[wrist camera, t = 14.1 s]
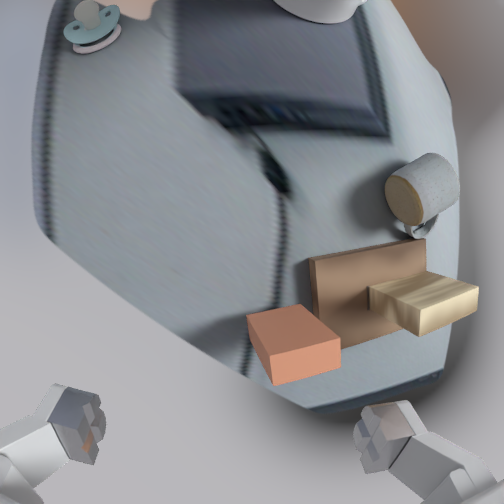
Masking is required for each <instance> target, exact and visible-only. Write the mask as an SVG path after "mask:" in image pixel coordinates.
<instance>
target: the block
mask: <svg viewBox="0 0 504 504" xmlns="http://www.w3.org/2000/svg"><path fill="white" fill-rule="evenodd" d="M246 317H247V324H248V330H249V337H250V341H251V343H252V345H253V347H254V349H255V351H256V353H257V355H258V357H259V359H260V361H261V363H262V365H263V367H264V369H265V371H266V373H267V375H268V377H269V378H270V380H271V382H272V384H273V386H276V385H280V384H284V383H288V382H292V381H295V380H299V379H303V378H307V377H310V376H314V375H317V374H321V373H324V372H327V371H331V370H334V369H337V368H340V367H341V345H340V337H339V336H338V335H336V334H335V333H334V332H333V331H332V330H331V329H329V328H328V327H327V326H326V325H325V324H323V323H322V322H321V321H320V320H319V319H318V318H316V317H315V316H314V315H313V314H312V313H311V312H309V311H308V310H307V309H306V308H305V307H303V306H302V305H301V304H297V305H292V306H288V307H283V308H278V309H273V310H269V311H264V312H259V313H254V314H249V315H246Z"/></svg>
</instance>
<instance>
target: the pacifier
mask: <svg viewBox="0 0 504 504" xmlns="http://www.w3.org/2000/svg"><path fill="white" fill-rule="evenodd" d="M108 12H111V14H110V15H109V16H108V17H106V14H107V13H108ZM74 16H75V18H76V19H77V20H75V21H73V22H71V23H69V24H68V25H67V26H66V27H65V28H64V36H65V37H66V39H67V40H69V41H70V42H72V43H73V49H74V51H75V52H77V53H81V54H84V53H91V52H95V51H97V50H100V49H102V48H104V47H106V46H107V45H109V44H111V43H112V42H113V41H114V40H115V39H116V38H117V37H118V36H119V34H120V32H121V27H120V25H119V24H117V22H118V20H119V17H120V10H119V7H118V6H116V5H110V6H108V7H106V8H104V9H102V10H101V11H100V12H99V5H98V4H97V2H95V1H93V0H84V1H82V2H80V3H79V4H78V5H77V6H76V8H75V11H74ZM75 26H79V27H80V28H79V29H78V30H74V29H73V28H74V27H75ZM113 28H114V31H113V33H112V34H111V35H110V36H109V37H108V38H107V39H106V40H104V41H103V42H101V43H99V44H96V45H93V46H89V47H82V46H80V44H86V43H91V42H94V41H96V40H98V39H100V38H102V37H104V36H105V35H107V34H108V33H109V32H110V31H111V30H112V29H113Z"/></svg>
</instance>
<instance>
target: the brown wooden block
mask: <svg viewBox="0 0 504 504" xmlns="http://www.w3.org/2000/svg"><path fill="white" fill-rule="evenodd" d="M308 259H309V269H310V280H311V292H312V304H313V315H314V316H315V317H316V318H318V319H319V320H320V321H321V322H322V323H323V324H325V325H326V326H327V327H328V328H329V329H331V330H332V331H333V332H334V333H335V334H336V335H338V336H339V337H340V345H341V349H344V348H347V347H350V346H353V345H357V344H360V343H363V342H366V341H369V340H372V339H375V338H378V337H381V336H384V335H387V334H390V333H392V332H395V331H398V330H401V329H403V328H404V329H406V330H407V331H409V332H411V333H413V334H414V335H416V336H418V337H420V336H423V335H425V334H427V333H430V332H432V331H434V330H437V329H439V328H441V327H444V326H446V325H448V324H450V323H452V322H454V321H457V320H459V319H461V318H463V317H465V316H467V315H469V314H471V313H473V312H475V311H477V302H478V290H479V287H478V286H475V285H471V284H468V283H465V282H462V281H458V280H455V279H452V278H448V277H445V276H442V275H438V274H435V273H432V272H428V271H426V239H424V238H421V239H415V238H411V239H406V240H401V241H396V242H390V243H385V244H380V245H375V246H370V247H364V248H359V249H354V250H349V251H343V252H338V253H332V254H327V255H322V256H316V257H311V258H308Z"/></svg>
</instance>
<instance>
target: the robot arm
mask: <svg viewBox="0 0 504 504" xmlns="http://www.w3.org/2000/svg"><path fill="white" fill-rule="evenodd" d="M274 1H275V2H276V3H277V4H278V5H280V6H281V7H282V8H284V9H285V10H287V11H289V12H291V13H292V14H294V15H297V16H299V17H301V18H304V19H307V20H310V21H314V22H319V23H339V22H343V21H345V20H347V19H349V18H350V17H351V16H352V15H353V14H354V12H355V10H356V8H357V7H358V6H359V5H361V4H364V3H365V2H366V1H367V0H274ZM100 404H101V401H100V398H99V395H97V394H94V393H90V392H85V391H82V390H78V389H74V388H71V387H66V386H63V385H59V384H54V385H52V386H51V387H50V389H49V391H48V392H47V394H46V395H45V397H44V399H43V400H42V402H41V403H40V405H39V407H38V408H37V410H36V412H35V413H34V415H33V417H32V416H27V417H25V418H23V419H21V420H19V421H17V422H15V423H13V424H10V425H9V426H6V427H4V428H2V429H0V504H44V502H43V500H42V498H41V497H40V496H39V495H38V494H37V493H36V491H35V490H34V489H33V488H34V487H36V486H37V485H39V484H40V483H41V482H43V481H44V480H45V479H46V478H48V477H49V476H50V475H52V474H53V473H54V472H55V471H57V470H58V469H59V468H61V467H62V466H63V465H64V464H66V463H67V462H68V461H69V459H72V460H75V461H79V462H83V463H87V464H91V465H94V463H95V460H96V457H97V454H98V451H99V448H98V446H97V443H98V442H99V441H101V440H102V439H103V437H104V434H105V429H106V418H105V414H104V412H103V411H102V410H101V409H100V408H99V407H100ZM361 416H362V418H363V419H361V420H360V421H359V422H358V423H357V424H356V426H355V428H354V433H353V440H354V445H355V447H356V449H357V450H358V451H360V452H361V453H362V455H361V458H360V461H361V463H362V466H363V468H364V471H365V473H366V474H368V473H374V472H379V471H385V470H388V471H389V472H390V473H391V474H393V475H394V476H395V477H396V478H398V479H399V480H400V481H401V482H402V483H404V484H405V485H406V486H407V487H409V488H410V489H411V490H412V491H414V492H415V493H416V494H418V495H419V496H420V497H421V498H423V499H424V501H423V502H422V503H421V504H504V479H503V480H501V481H500V482H498V483H497V481H496V480H495V478H494V477H493V475H492V474H491V472H490V470H489V469H488V467H487V466H486V464H485V463H484V461H483V460H482V458H481V457H478V456H477V455H475V454H473V453H471V452H469V451H467V450H465V449H463V448H461V447H459V446H458V445H455V444H454V443H452V442H450V441H448V440H446V439H445V438H443V437H441V436H439V435H437V434H435V433H434V432H428V431H427V429H426V428H425V426H424V425H423V423H422V421H421V420H420V418H419V417H418V415H417V413H416V412H415V410H414V409H413V407H412V405H411V404H410V402H408V401H407V400H404V401H398V402H393V403H384V404H378V405H370V406H366V407H365V408H364V409H363V411H362V413H361Z"/></svg>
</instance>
